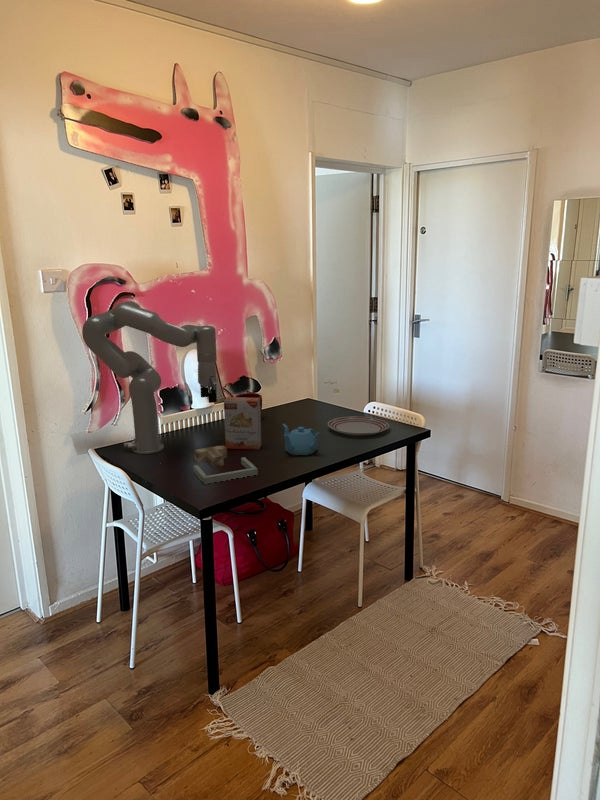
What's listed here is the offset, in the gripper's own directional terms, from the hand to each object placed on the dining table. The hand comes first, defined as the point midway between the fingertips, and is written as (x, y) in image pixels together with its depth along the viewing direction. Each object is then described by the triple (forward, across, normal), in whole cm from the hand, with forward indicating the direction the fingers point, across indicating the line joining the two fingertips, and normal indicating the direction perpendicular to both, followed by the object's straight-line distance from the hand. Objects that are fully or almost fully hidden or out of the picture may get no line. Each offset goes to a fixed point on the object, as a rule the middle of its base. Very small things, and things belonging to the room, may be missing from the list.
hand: (208, 399), depth 242 cm
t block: (+21, +14, -3) cm, 25 cm away
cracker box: (+21, +4, +13) cm, 25 cm away
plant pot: (+22, -33, +30) cm, 50 cm away
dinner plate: (+21, +7, +67) cm, 70 cm away
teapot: (+21, +20, +30) cm, 42 cm away
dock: (+21, +28, -4) cm, 35 cm away
